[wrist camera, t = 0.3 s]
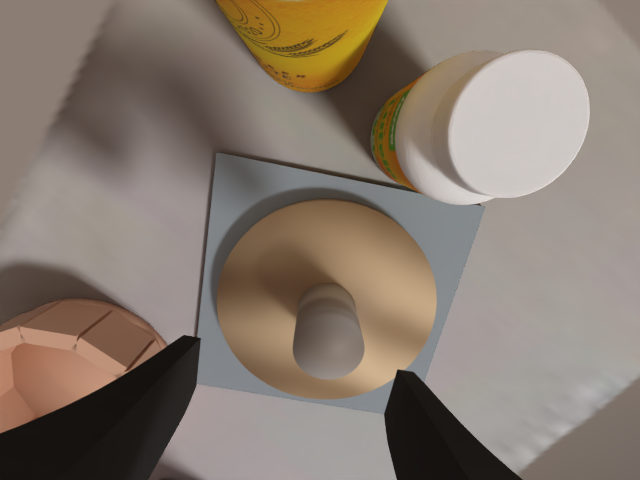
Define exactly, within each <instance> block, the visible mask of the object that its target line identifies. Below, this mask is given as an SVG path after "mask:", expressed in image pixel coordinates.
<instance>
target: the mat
mask: <svg viewBox="0 0 640 480" xmlns="http://www.w3.org/2000/svg"><path fill="white" fill-rule="evenodd" d="M319 198H335V199H343V200H350V201H354V202H357V203H361V204H364V205H367V206H369V207H372V208H374V209H376V210H378V211H380V212H382V213H384V214H385V215H387V216H389V217H390V218H391V219H393V220H394V221H395V222H397V223H398V224H399V225H400V226H402V227H403V228H404V229H405V230H406V231H407V232H408V234H409V235H410V236H411V237H412V238H413V239H414V240H415V241H416V242H417V244H418V245H419V247H420V248H421V249H422V251H423V252H424V254H425V256H426V258H427V260H428V262H429V264H430V267H431V270H432V273H433V276H434V280H435V285H436V295H437V306H436V314H435V319H434V323H433V327H432V330H431V332H430V335H429V337H428V340H427V342H426V343H425V345H424V347H423V348H422V350H421V352H420V353H419V354H418V356H417V357H416V358H415V360H414V361H413V362H412V363H411V364H410V365H409V366H408V367H407V368H406V369H405V370H406V371H412V372H414V373H415V374H416V375H417V376H418V377H419V378H420V379H421V380H422V381H423V382H424V381H425V378H426V375H427V372H428V369H429V366H430V364H431V361H432V358H433V355H434V352H435V349H436V346H437V344H438V341H439V338H440V335H441V332H442V329H443V326H444V324H445V321H446V318H447V315H448V312H449V309H450V306H451V303H452V301H453V298H454V295H455V292H456V289H457V286H458V283H459V281H460V278H461V275H462V272H463V269H464V266H465V263H466V261H467V258H468V255H469V252H470V249H471V246H472V243H473V240H474V238H475V235H476V232H477V229H478V226H479V223H480V220H481V218H482V215H483V212H484V209H485V207H484V206H481V205H476V204H470V205H454V204H448V203H444V202H441V201H437V200H435V199H432V198H430V197H428V196H425V195H423V194H421V193H417V192H412V191H407V190H402V189H397V188H392V187H387V186H382V185H378V184H373V183H368V182H363V181H358V180H353V179H348V178H343V177H338V176H333V175H328V174H324V173H319V172H314V171H309V170H304V169H299V168H294V167H289V166H284V165H279V164H274V163H269V162H265V161H260V160H255V159H250V158H245V157H240V156H235V155H230V154H225V153H220V152H216V162H215V171H214V181H213V190H212V200H211V210H210V219H209V229H208V238H207V248H206V257H205V267H204V277H203V286H202V296H201V305H200V315H199V324H198V334H197V337H198V338H201V343H200V354H199V364H198V374H197V384H200V385H207V386H213V387H219V388H225V389H231V390H237V391H244V392H250V393H256V394H262V395H268V396H275V397H281V398H287V399H293V400H299V401H305V402H312V403H318V404H324V405H330V406H336V407H343V408H349V409H355V410H361V411H367V412H373V413H380V414H384V412H385V409H386V406H387V402H388V399H389V396H390V392H391V389H392V386H393V382H394V379H395V378H394V379H392V380H391V381H389V382H388V383H386V384H384V385H383V386H381V387H378V388H376V389H374V390H372V391H370V392H367V393H364V394H361V395H357V396H353V397H348V398H342V399H310V398H304V397H299V396H295V395H291V394H288V393H285V392H282V391H280V390H278V389H276V388H274V387H271V386H269V385H268V384H266V383H265V382H263V381H261V380H260V379H258V378H257V377H256V376H254V375H253V374H252V373H251V372H249V371H248V370H247V369H246V368H245V367H244V366H243V365H242V364H241V363H240V362H239V360H238V359H237V358H236V356H235V355H234V354H233V352H232V351H231V349H230V347H229V345H228V344H227V342H226V340H225V338H224V335H223V333H222V330H221V327H220V323H219V319H218V313H217V289H218V284H219V278H220V275H221V272H222V269H223V267H224V264H225V262H226V260H227V258H228V256H229V254H230V253H231V251H232V250H233V248H234V247H235V246H236V244H237V243H238V241H239V240H240V239H241V238H242V237H243V236H244V235H245V233H246V232H247V231H248V230H249V229H250V228H251V227H252V226H253V225H255V224H256V223H257V222H259V221H260V220H261V219H262V218H264V217H265V216H267V215H269V214H270V213H272V212H274V211H276V210H278V209H280V208H282V207H285V206H287V205H290V204H293V203H297V202H301V201H304V200H312V199H319Z"/></svg>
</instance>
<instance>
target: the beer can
mask: <svg viewBox="0 0 640 480" xmlns="http://www.w3.org/2000/svg"><path fill="white" fill-rule="evenodd" d="M215 2H216V3H217V5H218V6H219V7H220V9H221V10H222V12H223V13H224V14H225V16H226V17H227V19H228V20H229V21H230V23H231V24H232V26H233V27H234V28H235V30H236V31H237V33H238V34H239V35H240V37H241V38H242V40H243V41H244V42H245V44H246V45H247V47H248V48H249V49H250V51H251V52H252V54H253V55H254V56H255V58H256V59H257V61H258V62H259V63H260V65H261V66H262V68H263V69H264V70H265V71H266V72H267V74H268V75H269V76H270V77H272V78H273V79H274V80H275V81H277V82H278V83H279V84H281V85H283V86H285V87H287V88H289V89H292V90H295V91H299V92H319V91H323V90H327V89H329V88H332V87H334V86H336V85H337V84H339V83H340V82H342V81H343V80H344V79H345V78H347V77H348V76H349V75H350V74H351V73H352V71H353V70H354V69H355V67H356V66H357V65H358V63H359V61H360V60H361V58H362V56H363V53H364V51H365V49H366V47H367V45H368V43H369V41H370V38H371V36H372V34H373V32H374V30H375V28H376V26H377V23H378V21H379V19H380V17H381V15H382V13H383V11H384V8H385V6H386V4H387V2H388V0H215Z"/></svg>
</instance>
